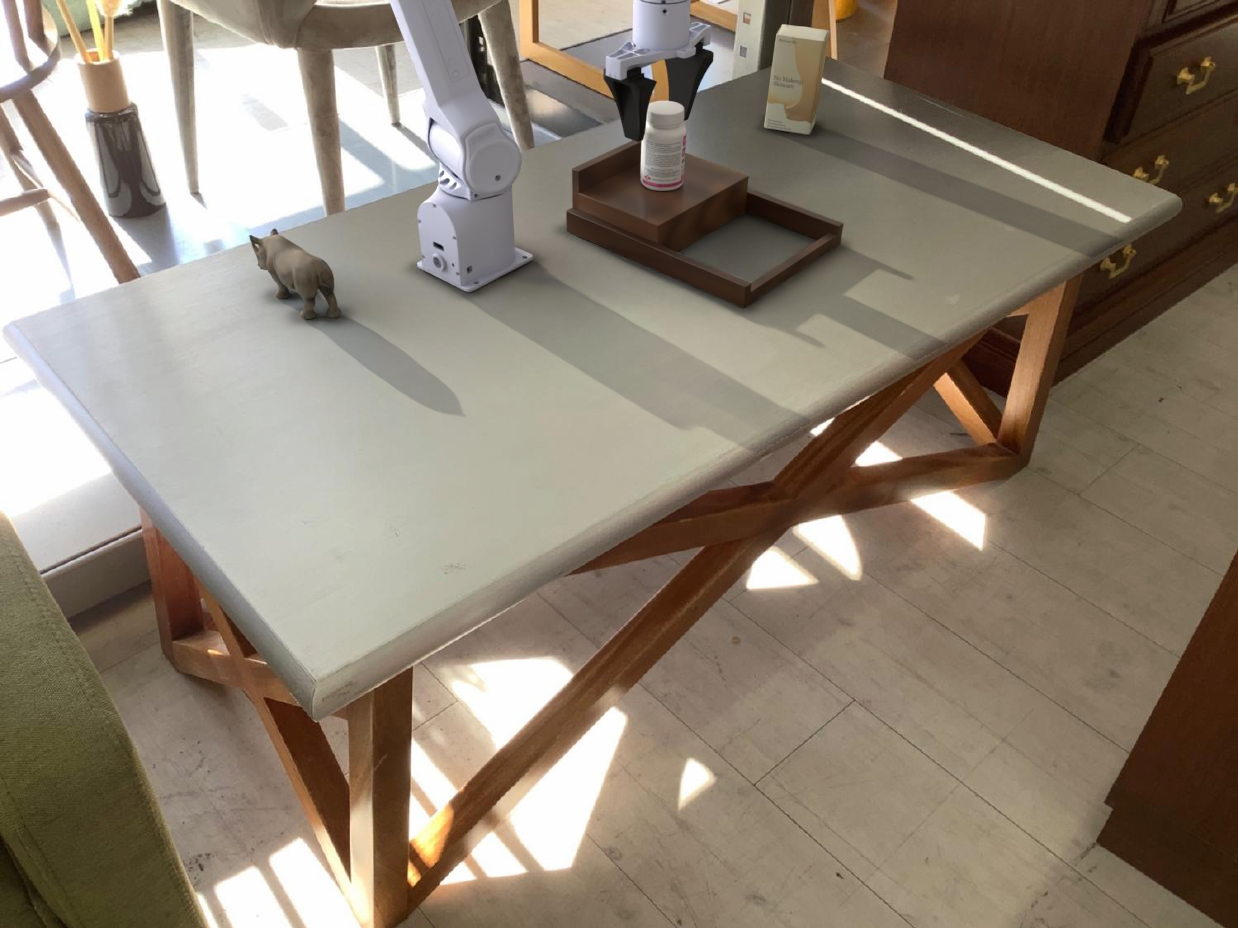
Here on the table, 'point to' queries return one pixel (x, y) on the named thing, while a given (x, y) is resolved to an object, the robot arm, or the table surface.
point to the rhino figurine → (296, 272)
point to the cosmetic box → (796, 78)
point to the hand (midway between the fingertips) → (656, 128)
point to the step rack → (685, 220)
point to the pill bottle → (663, 147)
